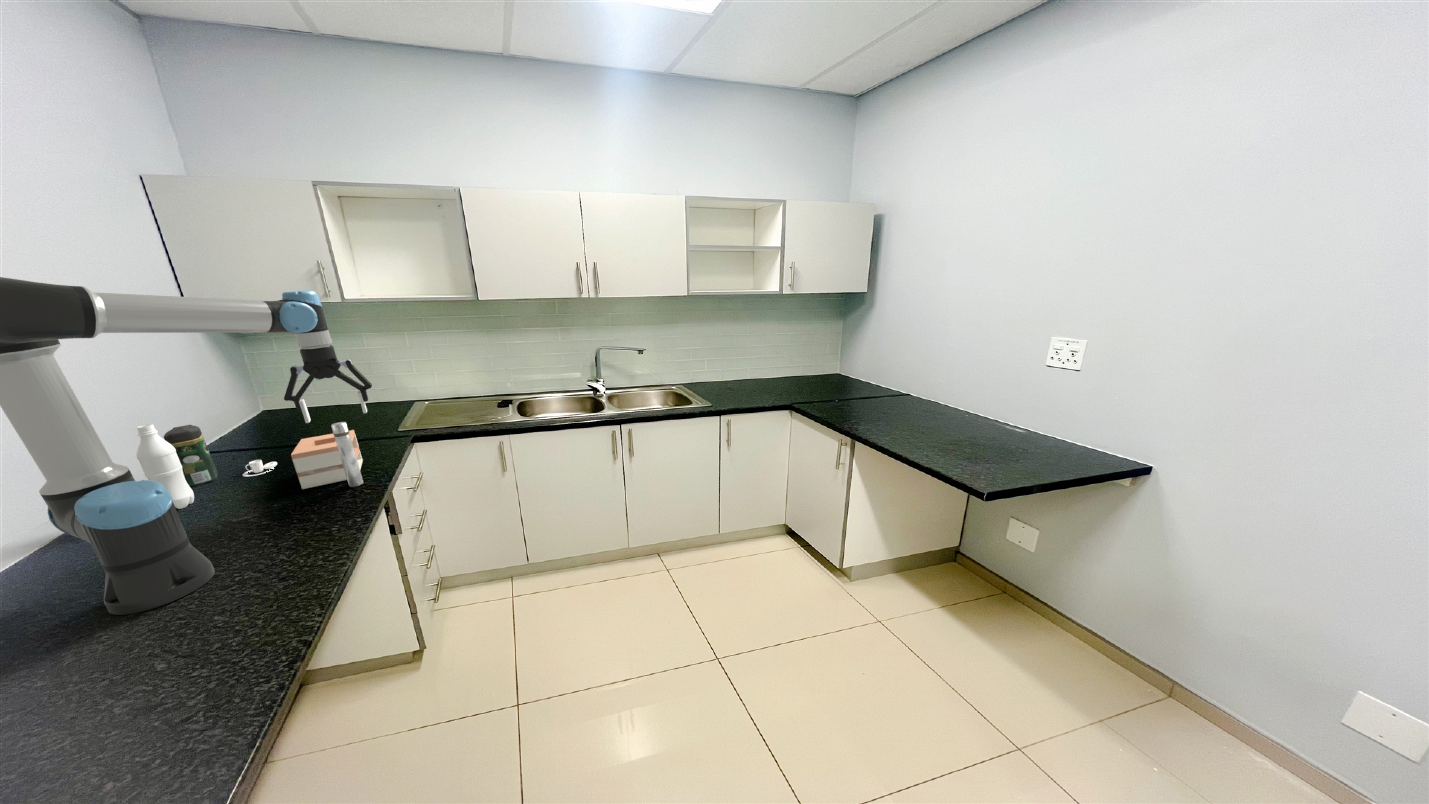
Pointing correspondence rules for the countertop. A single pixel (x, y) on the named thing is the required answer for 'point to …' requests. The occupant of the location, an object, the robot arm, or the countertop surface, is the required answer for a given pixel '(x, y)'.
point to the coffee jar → (192, 454)
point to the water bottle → (163, 465)
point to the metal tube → (347, 454)
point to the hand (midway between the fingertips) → (337, 416)
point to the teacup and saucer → (259, 467)
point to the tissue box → (321, 460)
